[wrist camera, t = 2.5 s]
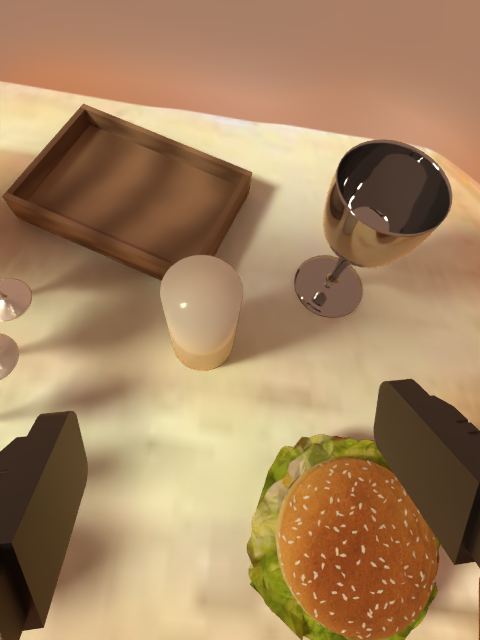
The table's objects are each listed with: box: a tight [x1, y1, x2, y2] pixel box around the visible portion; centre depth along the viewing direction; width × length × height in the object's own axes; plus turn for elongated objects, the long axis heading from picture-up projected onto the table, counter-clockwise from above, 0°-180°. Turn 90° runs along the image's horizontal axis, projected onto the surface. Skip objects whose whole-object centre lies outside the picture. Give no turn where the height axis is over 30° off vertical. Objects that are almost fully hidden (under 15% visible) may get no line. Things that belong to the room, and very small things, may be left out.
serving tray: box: [2, 104, 252, 281], centre depth 40 cm, size 20×14×3 cm
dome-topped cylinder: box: [160, 255, 243, 371], centre depth 31 cm, size 6×6×11 cm
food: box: [247, 434, 440, 640], centre depth 28 cm, size 14×14×8 cm
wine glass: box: [295, 140, 452, 317], centre depth 33 cm, size 8×8×15 cm
